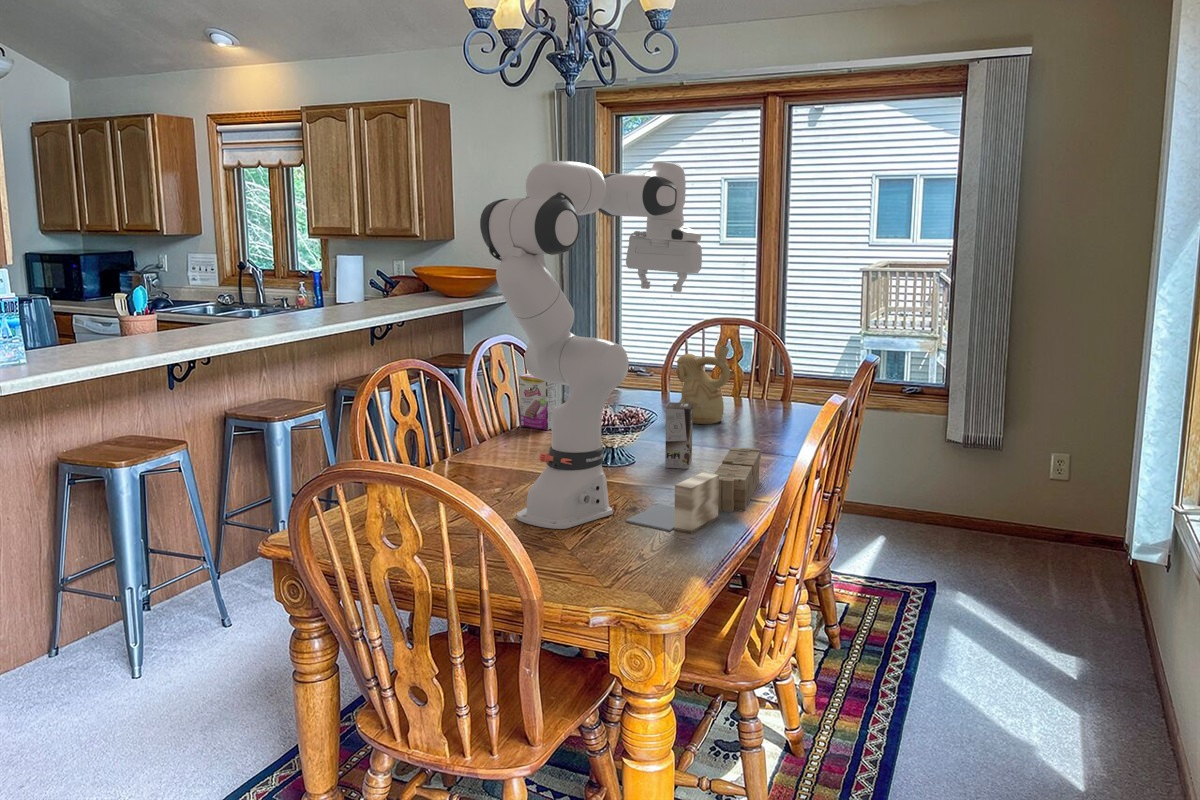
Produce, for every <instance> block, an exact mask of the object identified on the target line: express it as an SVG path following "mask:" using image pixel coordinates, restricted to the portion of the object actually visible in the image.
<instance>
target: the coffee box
mask: <svg viewBox="0 0 1200 800" xmlns="http://www.w3.org/2000/svg"><path fill="white" fill-rule="evenodd" d="M692 411H693V403H688V402H680V401H678V402H673V401H671V402H669V403H668V405H667V406H666V408H665V447H664V448H665V451H664V452H665V454H664V455H665V456H664V458H665V460H664V463H665V464H664V466H665V469H666V468H667V469H684V470H688V469H689V467H690V465H691V463H692V461H693V423H692Z"/></svg>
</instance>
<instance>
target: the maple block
mask: <svg viewBox="0 0 1200 800" xmlns="http://www.w3.org/2000/svg"><path fill="white" fill-rule="evenodd" d="M718 501H719V475H717V474H715V473H710V472H705V471H702V472H700V473H698V474H695V475H693V476H691V477H690V478H687V479H685V480H683V481H680V482H678V483H676V484H674V507H675V519H674V529H673V531H674V532H679V533H684V534H688V535H693V534H694V533H696V532H698V531H699V530H701V529H703V528H705V527H707V526H709V525H710V524H712V523H714V522H715V521H717V520H719V511H718ZM713 521H714V522H713Z"/></svg>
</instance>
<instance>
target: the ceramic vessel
mask: <svg viewBox="0 0 1200 800" xmlns="http://www.w3.org/2000/svg"><path fill="white" fill-rule="evenodd" d="M729 350H730V347H728V346H726V345H720V346H719V350H718V354H717V356H708V355H707V356H700V357H697V356H696V355H695V354H693V353H685V354H682V355H681V356H680V357H678V358H677V360H676V363H677V364H676V365H677V366H676V369H675V374H676V375H677V378H678V380H679V381H680V382H681V383H683V386H682V389H681V399H680V400H679V402H688V403H693V411H692V424H696V425H698V424H699V425H713V424H717V423H720V422H721V421H722V419H723V415H724V409H725V408H724V406H725V405H724V398H723V394H722V392H721V389H720V388H722V387H724V386H725V385H726V384H727V383H728V382H729V380H730V377H731V369H730V365H729V363H727V361H726V360H727V356H728V353H729ZM705 365H713V366H715V367H716V366H717V367H718V368H720V370H721V376H720V377H719V378H717V379H714V378H712V377H711V375H709V374H708V373H707V372H706V371H705V369H704V367H703V366H705Z"/></svg>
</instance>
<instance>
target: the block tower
mask: <svg viewBox="0 0 1200 800" xmlns="http://www.w3.org/2000/svg"><path fill="white" fill-rule="evenodd" d="M761 454H762V450H761V448H748V447H746V448H745V447H730V448H729V450H728V453H727V454H726V456H725V457H724V459H722V462H721V464H720V465H719V467H718V468H717V469H716V470H715V473H714V474H717V475H719V501H718V510H719V511H718V512H725V511H729V512H728V513H734V511H737V510H742V511H741V512H745V511H746V509H747V508H746V507H747V506H748V505H749V504H750V501H751V500H752V497H753V496H754V493H755V491H756V489H757V487H758V484H759V481H760V464H761V463H760V460H762V455H761ZM750 499H751V500H750ZM748 503H749V504H748ZM721 510H722V511H721Z"/></svg>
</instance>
